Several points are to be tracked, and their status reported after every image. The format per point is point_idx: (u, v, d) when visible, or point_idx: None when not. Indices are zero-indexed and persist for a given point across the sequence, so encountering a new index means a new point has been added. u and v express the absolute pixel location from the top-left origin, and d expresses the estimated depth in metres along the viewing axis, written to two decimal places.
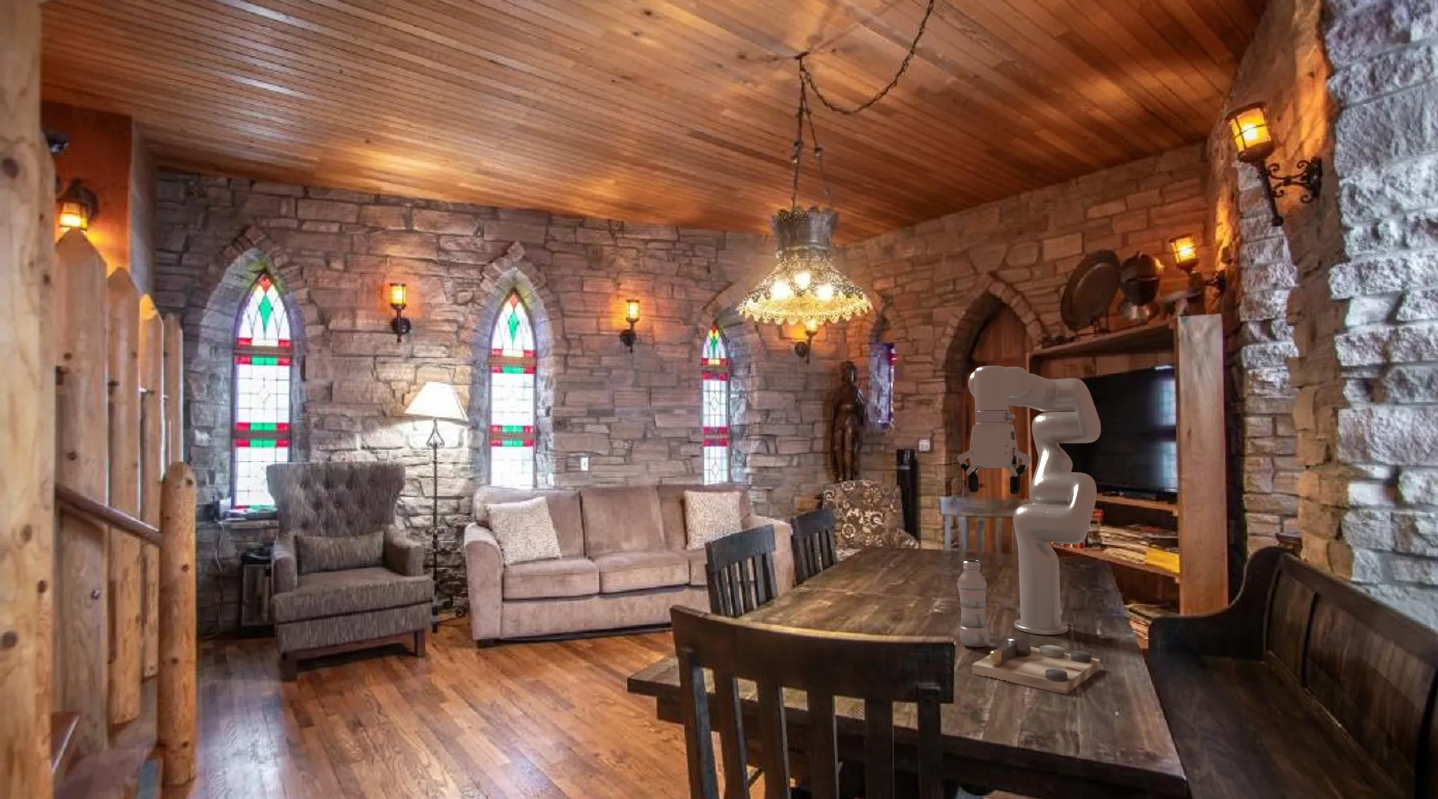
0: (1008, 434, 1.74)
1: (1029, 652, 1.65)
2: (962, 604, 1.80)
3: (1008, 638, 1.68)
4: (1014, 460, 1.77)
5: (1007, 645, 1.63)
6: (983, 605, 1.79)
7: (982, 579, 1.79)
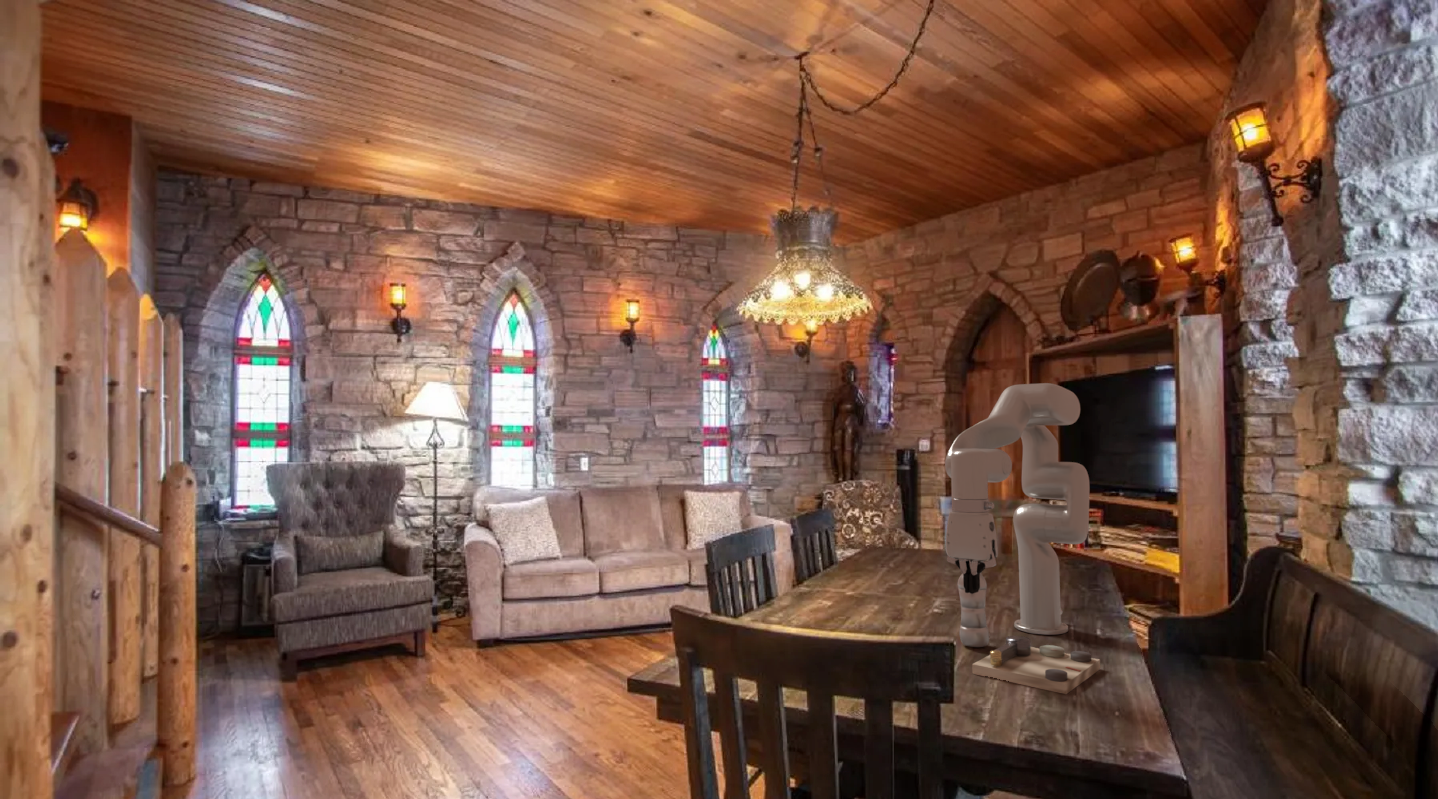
0: (986, 525, 1.62)
1: (1029, 652, 1.65)
2: (962, 604, 1.80)
3: (1008, 638, 1.68)
4: (993, 552, 1.65)
5: (1007, 645, 1.63)
6: (983, 605, 1.79)
7: (982, 579, 1.79)
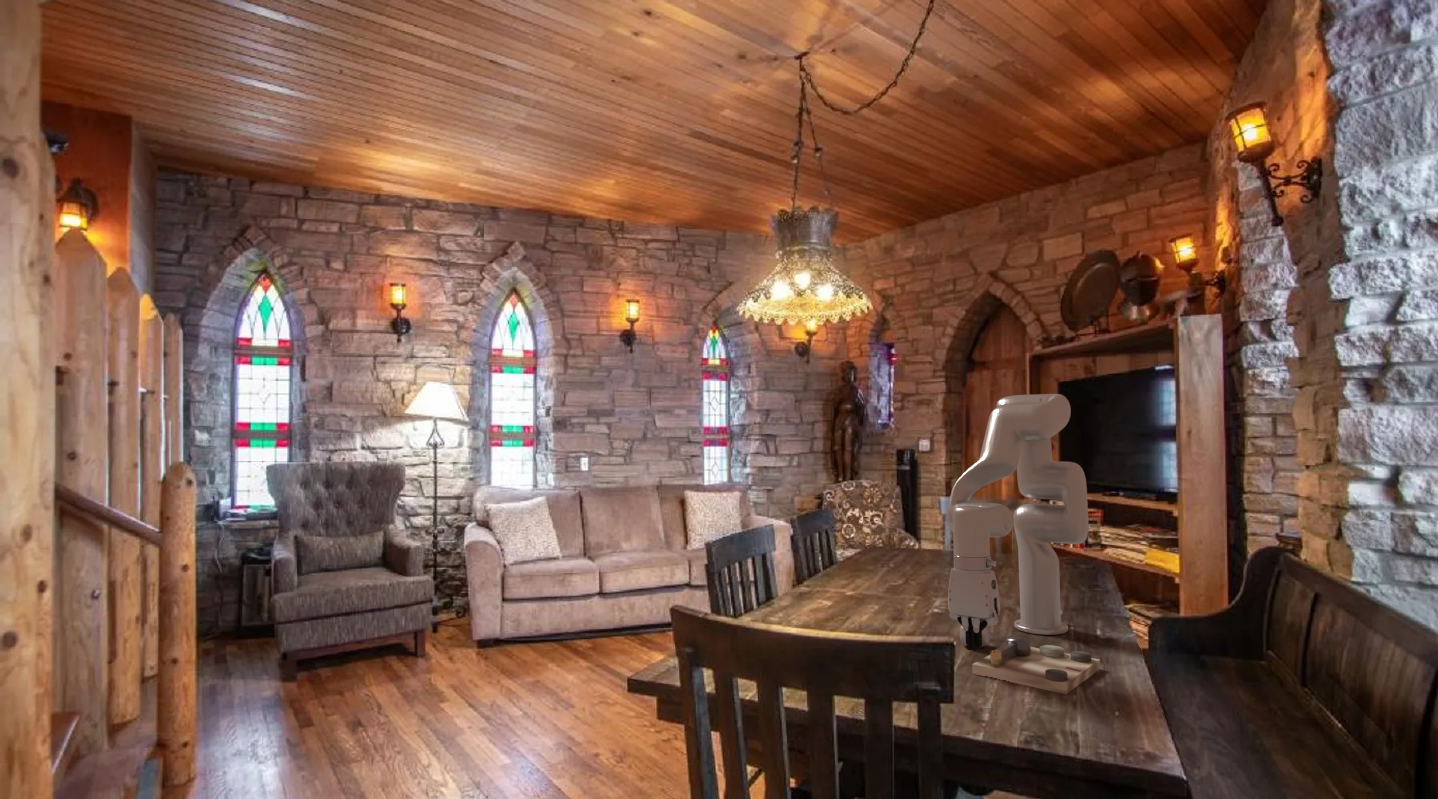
0: (988, 584, 1.61)
1: (1029, 652, 1.65)
2: None
3: (1008, 638, 1.68)
4: (995, 609, 1.65)
5: (1007, 645, 1.63)
6: None
7: None
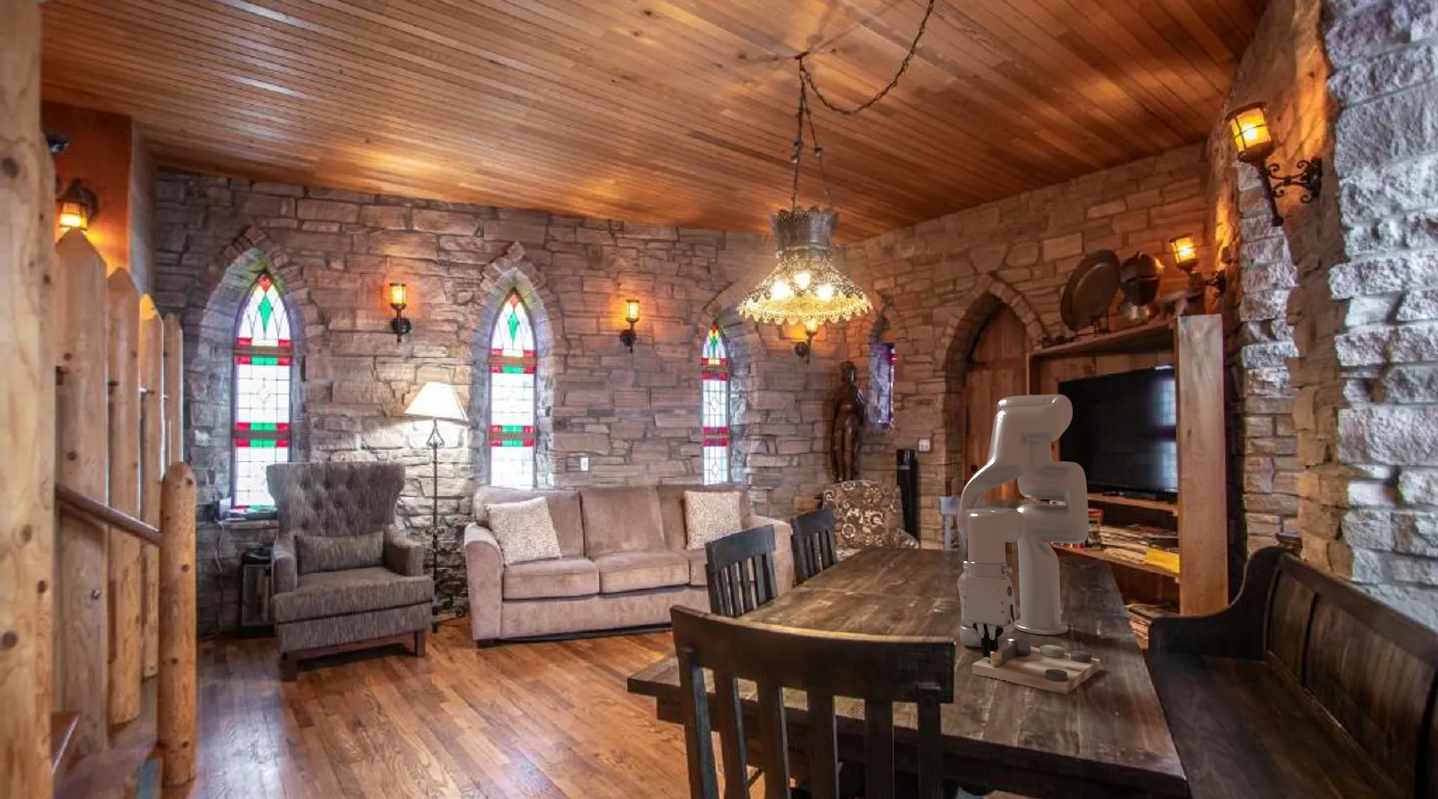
0: (1004, 590, 1.59)
1: (1029, 652, 1.65)
2: (962, 604, 1.80)
3: (1008, 638, 1.68)
4: (1011, 615, 1.63)
5: (1007, 645, 1.63)
6: None
7: None
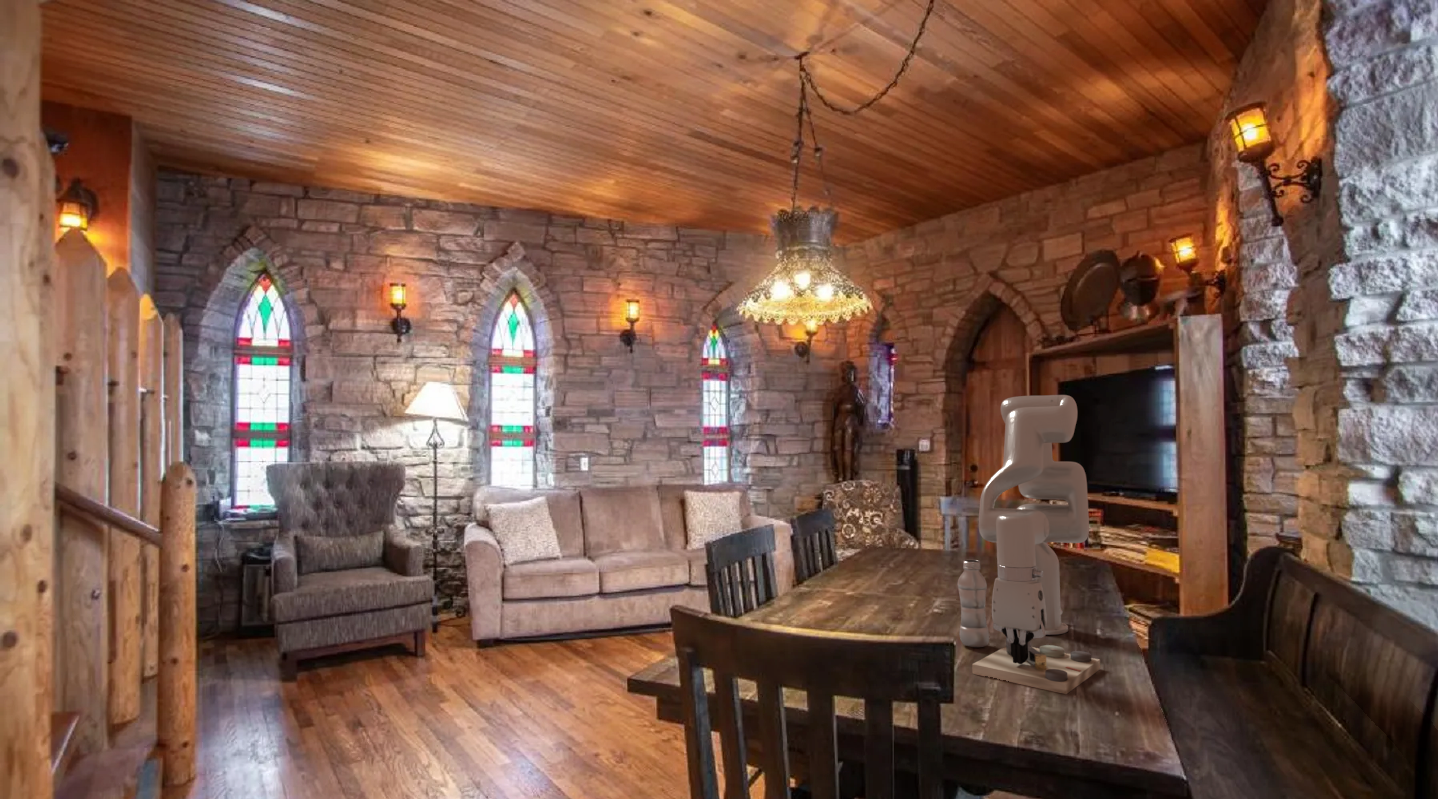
0: (1035, 595, 1.55)
1: None
2: (962, 604, 1.80)
3: None
4: (1042, 620, 1.59)
5: None
6: (983, 605, 1.79)
7: (982, 579, 1.79)
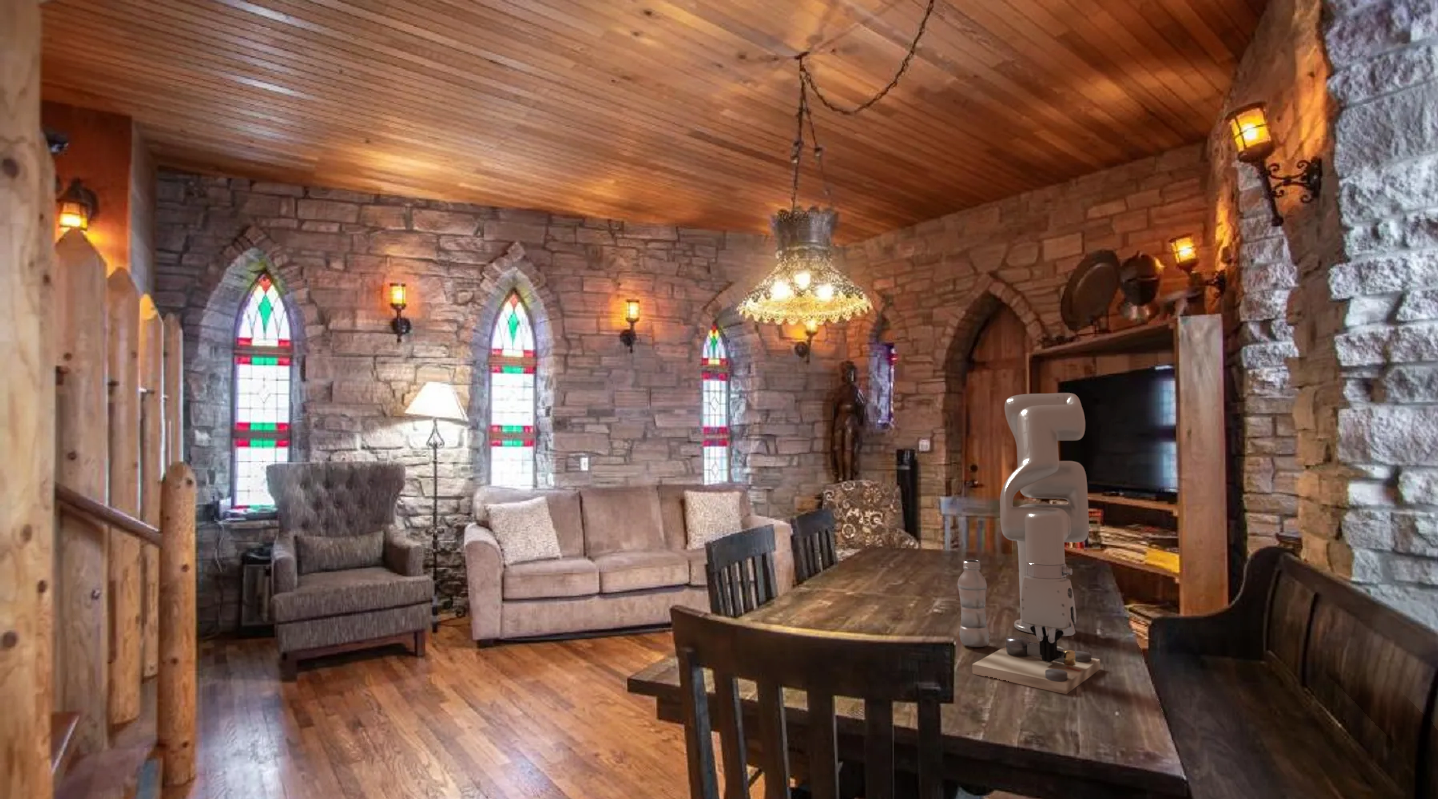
0: (1065, 592, 1.55)
1: None
2: (962, 604, 1.80)
3: (1018, 641, 1.65)
4: (1071, 618, 1.59)
5: None
6: (983, 605, 1.79)
7: (982, 579, 1.79)
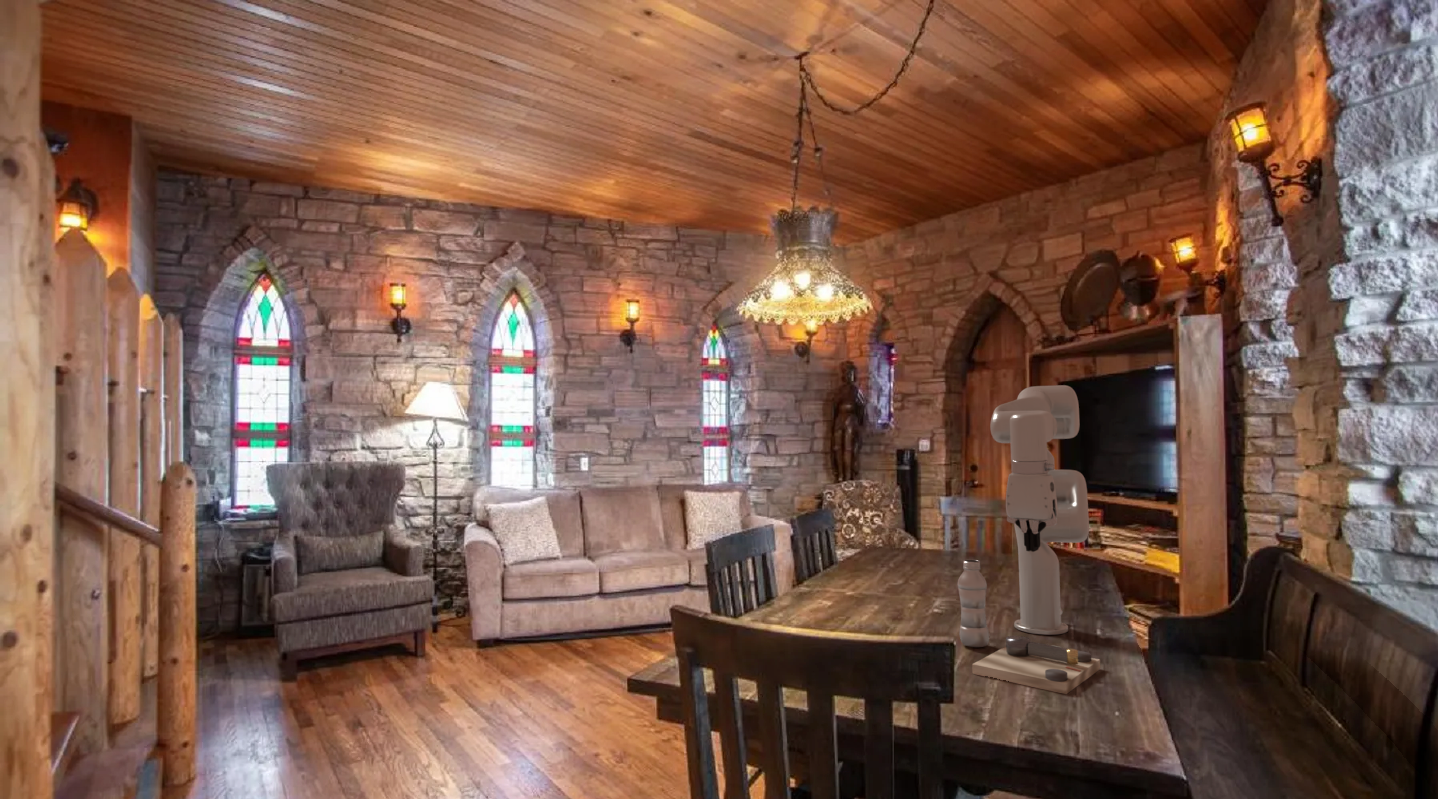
0: (1047, 486, 1.66)
1: None
2: (962, 604, 1.80)
3: (1019, 641, 1.65)
4: (1053, 511, 1.70)
5: (1042, 645, 1.63)
6: (983, 605, 1.79)
7: (982, 579, 1.79)
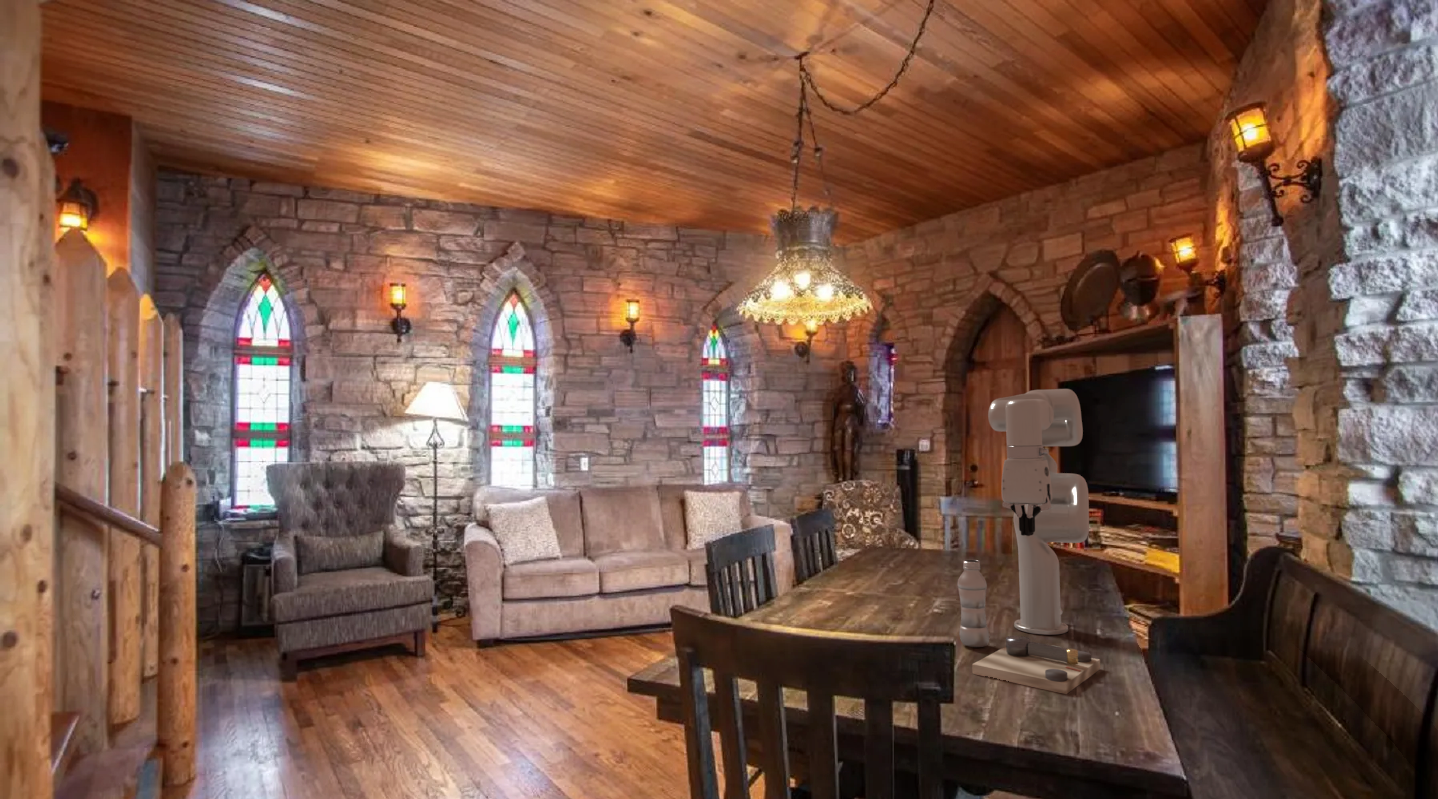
0: (1042, 470, 1.69)
1: None
2: (962, 604, 1.80)
3: (1019, 641, 1.65)
4: (1047, 496, 1.73)
5: (1042, 645, 1.63)
6: (983, 605, 1.79)
7: (982, 579, 1.79)
